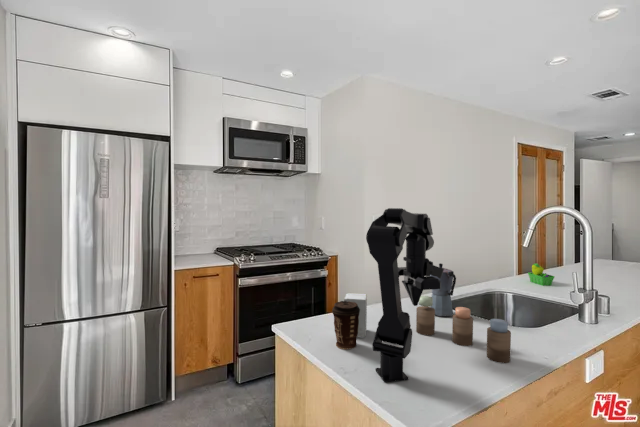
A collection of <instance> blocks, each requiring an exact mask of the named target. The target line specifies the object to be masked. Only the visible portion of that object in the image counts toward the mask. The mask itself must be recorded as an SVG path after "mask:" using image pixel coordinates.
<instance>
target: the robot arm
mask: <svg viewBox="0 0 640 427" xmlns="http://www.w3.org/2000/svg"><path fill="white" fill-rule="evenodd" d="M389 224H392V225H395V226H389ZM398 226H400V227H398ZM433 234H434V233H433V227H432V222H431V217H429V215H428V214H427V213H417V212H416V213H415V212H414V213H413V212H410V211H407V210H406V209H405V208H393V207H389V208H387V209H386V208H385V210H384V211H383V213H382V215H380V216H378V218H376V219H374V220H373V221H372V222H371V224H370V226H369V227H368V230H367V231H366V235H365V240H366V243H367V246H368V251H369V254H370V256H371V257H372V258H373V259H374V260H375V261H376V263H377V270H378V278H379V279H378V280H379V286H380V287H379V288H380V295H381V296H380V297H381V298H380V299H381V306H382V316H381V317H380V319H379V321H378V322H377V323H378V324H377V328H376V332H375V334H374V338H373V340H372V344H371V346H372V352H373V351H374V352H378V353H380V354H379V355H380V357H379V358H380V361H379V362H380V363H379V364H380V365H379V367H376V368H375V369H374V370H375V372H376V374H377V375H378V376H379V377H380V378H381V380H382V381H383V383H391V382H400V381H408V380H409V376H408V375H407V374H406V373H405V372H404V359H406V358H407V357H408V356H409V355H410V354H411V349H412V342H413V341H412V340H413V328H411V327H412V326H411V325H412V324H411V320H410V318H411V316H410V314H409V313H408V312H404V311H403V308H402V299H401V298H402V296H401V285H400V277H401V276H403V280H401V283H402V284H403V286H404V288H405V290H406V292H407V294H408V298H409V299H410V302H411V303H412V305H413V306H414V307H418V305H419V300H420V297H421V296H422V294H423V291H427V290H432V289H441V281H440V280H439V279H437V278H435V277H438V278H440V279H441V277H442V274H443V271H444V269H443V268H444V267H442V268H440V267H439V266H437V265H434V262H433V261H431V260H430V259H429V258H427V256H426V254H427V253H426V252H427V251H430V250H432V248H433V247H434V245H435V240H434V237H432V236H433ZM405 242H406V243H405ZM404 243H405V244H406V246H405V249H406V250H405V256H404V257H403V259H402V260H403V261H405V266H401V267H400V266H399V265H398V264H399V263H398V258H399V256H400V254H401V252H402V251H403V248H404V247H403V246H404ZM430 275H433V276H435V277H432V276H430ZM396 345H397V346H396ZM401 346H402V347H401Z"/></svg>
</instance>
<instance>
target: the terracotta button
mask: <svg viewBox="0 0 640 427" xmlns="http://www.w3.org/2000/svg"><path fill="white" fill-rule="evenodd" d="M454 310H455V313H454V315H455V316H456V317H458V318H461V319H469V318H470V316H471V308H468V307H465V306H464V307H463V306H456V307H455V308H454Z"/></svg>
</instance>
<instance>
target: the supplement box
mask: <svg viewBox="0 0 640 427" xmlns="http://www.w3.org/2000/svg"><path fill="white" fill-rule="evenodd" d="M367 297H368V294H365V293H351V292H350V293H346V294H345V296H344V298H343V301H347V302H348V301H350V302H355V303H357V304H358V307H359V309H360V313H359V317H358V318H359V325H358V335H357V338H365V337H366V333H367V323H368V322H367V317H368V316H367V314H368V309H367V308H368V307H367V306H368V299H367Z"/></svg>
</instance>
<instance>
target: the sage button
mask: <svg viewBox="0 0 640 427" xmlns="http://www.w3.org/2000/svg"><path fill="white" fill-rule="evenodd" d="M418 305H419V306H425V307H430V306H432V305H433V298H432V296H428V295H421V297H420V300H419V302H418Z"/></svg>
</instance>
